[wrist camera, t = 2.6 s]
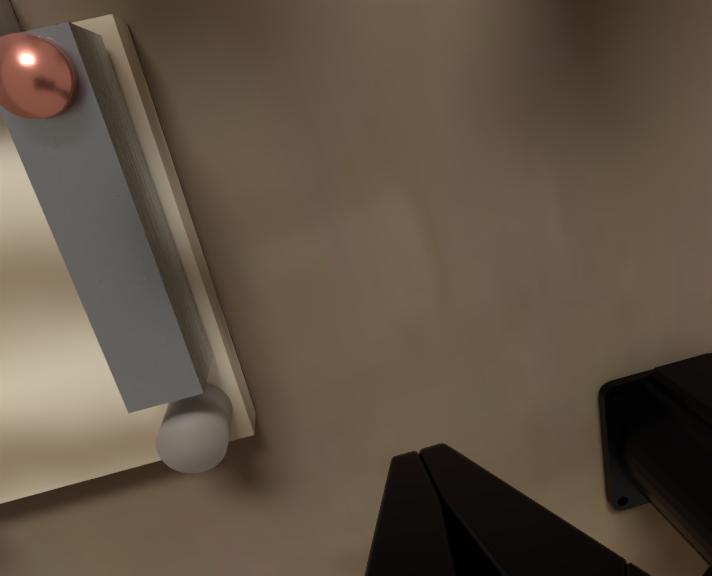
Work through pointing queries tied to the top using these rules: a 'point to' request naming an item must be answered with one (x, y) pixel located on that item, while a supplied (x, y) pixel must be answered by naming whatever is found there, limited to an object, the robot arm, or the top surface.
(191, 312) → the folding leg
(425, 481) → the robot arm
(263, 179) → the top surface
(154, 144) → the stool seat
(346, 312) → the top surface
